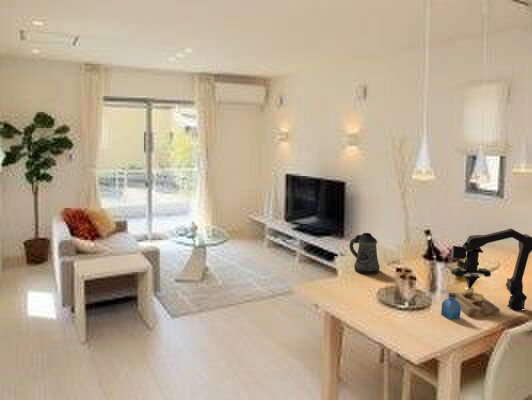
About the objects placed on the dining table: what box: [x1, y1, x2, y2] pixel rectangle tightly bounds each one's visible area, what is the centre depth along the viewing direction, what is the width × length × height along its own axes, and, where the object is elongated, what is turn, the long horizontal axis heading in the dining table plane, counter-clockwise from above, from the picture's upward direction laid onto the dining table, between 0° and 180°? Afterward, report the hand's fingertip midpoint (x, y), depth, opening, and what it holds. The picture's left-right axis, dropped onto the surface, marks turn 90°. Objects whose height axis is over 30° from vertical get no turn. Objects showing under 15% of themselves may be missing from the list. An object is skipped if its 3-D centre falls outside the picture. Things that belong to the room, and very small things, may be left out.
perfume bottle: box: [440, 292, 462, 320], centre depth 217 cm, size 6×6×12 cm
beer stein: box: [348, 232, 381, 276], centre depth 285 cm, size 16×19×25 cm
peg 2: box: [474, 293, 484, 304], centre depth 223 cm, size 4×4×4 cm
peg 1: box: [464, 286, 474, 296], centre depth 233 cm, size 4×4×4 cm
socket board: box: [447, 292, 501, 318], centre depth 229 cm, size 16×22×4 cm
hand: (469, 287), depth 233 cm, fingers closed
